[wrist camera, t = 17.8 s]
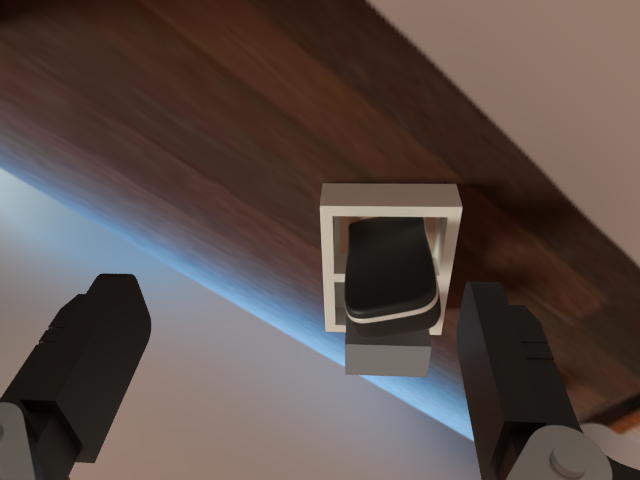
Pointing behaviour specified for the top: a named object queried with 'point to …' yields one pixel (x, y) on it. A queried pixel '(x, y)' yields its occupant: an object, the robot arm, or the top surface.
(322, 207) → the dock
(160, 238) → the top surface
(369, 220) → the battery charger
